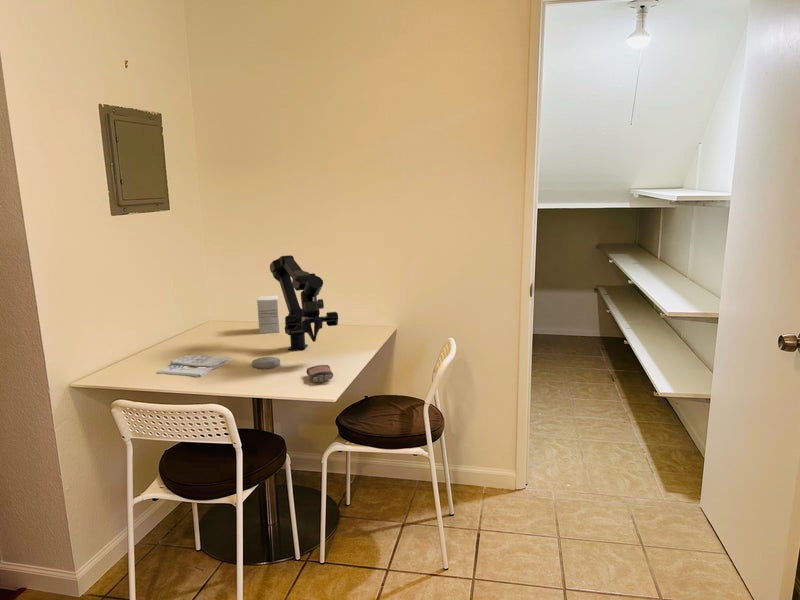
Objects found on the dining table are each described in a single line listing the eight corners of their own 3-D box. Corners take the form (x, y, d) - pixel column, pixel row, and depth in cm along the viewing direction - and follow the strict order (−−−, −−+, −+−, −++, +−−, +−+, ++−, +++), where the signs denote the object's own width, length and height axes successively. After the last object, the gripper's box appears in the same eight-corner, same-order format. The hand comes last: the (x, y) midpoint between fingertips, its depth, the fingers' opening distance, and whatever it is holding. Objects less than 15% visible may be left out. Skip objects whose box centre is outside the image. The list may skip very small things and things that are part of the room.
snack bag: (232, 361, 223) (231, 356, 222) (199, 379, 204) (198, 373, 203) (188, 358, 228) (187, 352, 228) (152, 375, 209) (151, 369, 209)
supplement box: (259, 328, 269) (257, 296, 266) (280, 327, 271) (278, 295, 268) (258, 333, 260) (256, 300, 257) (279, 332, 262) (277, 299, 259)
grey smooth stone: (257, 360, 222) (256, 356, 221) (283, 360, 221) (283, 357, 221) (248, 369, 212) (247, 365, 212) (275, 369, 211) (275, 365, 211)
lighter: (306, 376, 204) (310, 386, 194) (305, 367, 203) (309, 376, 194) (330, 372, 206) (335, 382, 196) (329, 363, 205) (333, 372, 195)
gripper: (283, 293, 210) (287, 332, 202) (336, 289, 214) (342, 327, 206) (283, 310, 220) (287, 348, 211) (334, 306, 224) (340, 342, 216)
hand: (314, 341), depth 211 cm, fingers closed
